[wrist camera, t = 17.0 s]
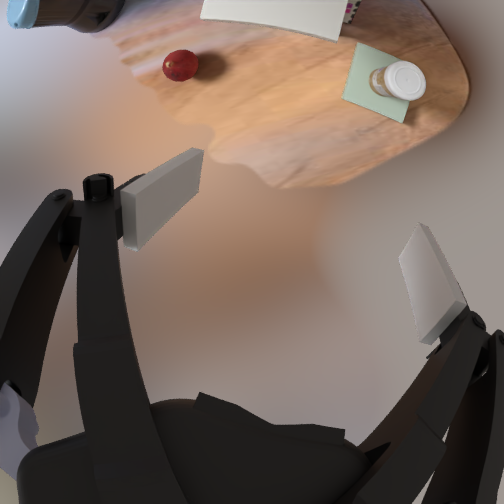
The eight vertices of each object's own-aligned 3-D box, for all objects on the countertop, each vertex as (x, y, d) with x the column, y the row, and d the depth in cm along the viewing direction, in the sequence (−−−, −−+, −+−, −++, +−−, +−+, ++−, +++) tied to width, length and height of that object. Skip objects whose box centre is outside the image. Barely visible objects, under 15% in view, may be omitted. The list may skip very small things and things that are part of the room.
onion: (203, 81, 40) (182, 82, 33) (175, 81, 40) (150, 82, 34) (207, 51, 36) (185, 46, 30) (177, 52, 37) (153, 49, 31)
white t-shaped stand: (256, 47, 34) (199, 18, 17) (265, 13, 30) (216, -38, 13) (330, 65, 34) (337, 41, 16) (339, 30, 30) (352, -20, 12)
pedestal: (340, 98, 36) (342, 98, 34) (355, 45, 30) (358, 42, 28) (397, 121, 36) (402, 123, 33) (413, 69, 30) (419, 68, 27)
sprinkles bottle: (379, 62, 29) (403, 52, 18) (402, 83, 30) (434, 82, 19) (361, 82, 32) (379, 79, 21) (384, 102, 32) (411, 109, 22)
